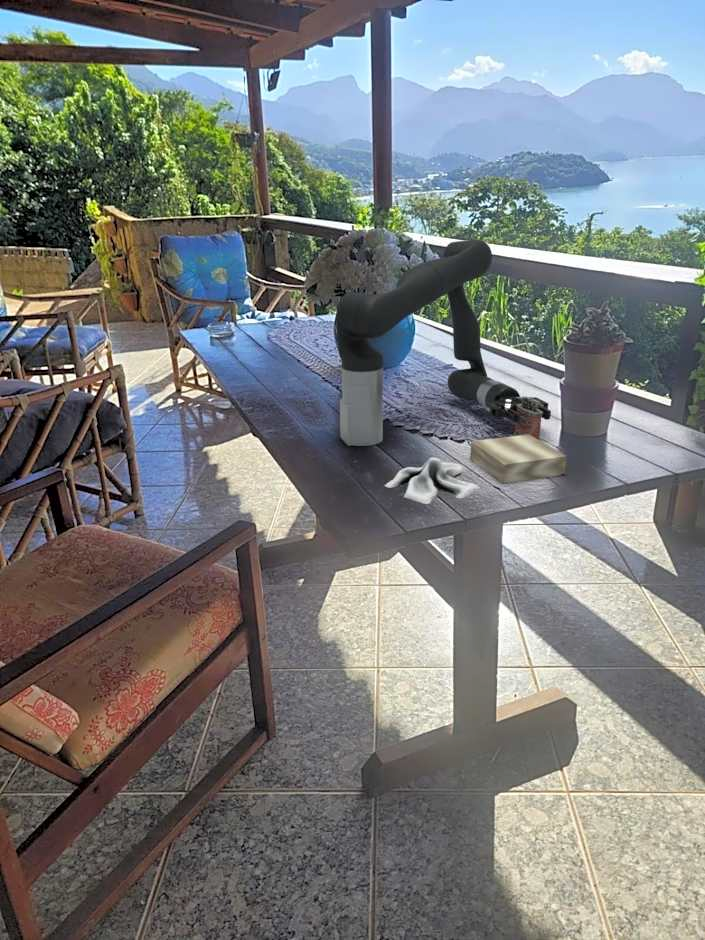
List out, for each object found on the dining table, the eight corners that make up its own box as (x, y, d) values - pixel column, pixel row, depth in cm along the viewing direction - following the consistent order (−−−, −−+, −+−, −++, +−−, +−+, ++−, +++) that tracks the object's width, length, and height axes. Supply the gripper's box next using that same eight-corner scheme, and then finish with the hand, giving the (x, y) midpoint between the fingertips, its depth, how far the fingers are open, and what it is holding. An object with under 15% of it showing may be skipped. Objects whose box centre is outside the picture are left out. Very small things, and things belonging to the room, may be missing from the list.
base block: (502, 483, 130) (504, 464, 129) (470, 458, 143) (471, 441, 141) (564, 474, 134) (566, 456, 133) (527, 451, 147) (529, 434, 145)
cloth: (454, 462, 143) (455, 435, 141) (499, 496, 127) (502, 466, 124) (356, 476, 136) (356, 448, 134) (391, 514, 120) (392, 482, 118)
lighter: (510, 435, 157) (514, 394, 153) (522, 433, 158) (526, 392, 154) (530, 446, 150) (534, 403, 146) (543, 444, 151) (547, 401, 147)
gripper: (472, 385, 161) (507, 404, 146) (524, 380, 165) (563, 398, 150) (470, 415, 164) (504, 436, 149) (522, 409, 168) (559, 429, 153)
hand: (533, 417), depth 150 cm, fingers open, 7 cm apart
